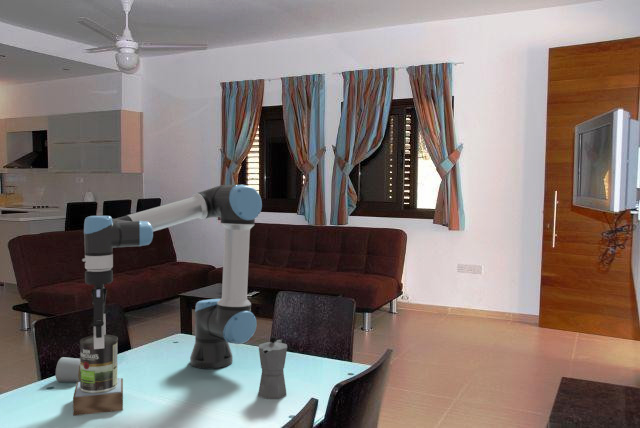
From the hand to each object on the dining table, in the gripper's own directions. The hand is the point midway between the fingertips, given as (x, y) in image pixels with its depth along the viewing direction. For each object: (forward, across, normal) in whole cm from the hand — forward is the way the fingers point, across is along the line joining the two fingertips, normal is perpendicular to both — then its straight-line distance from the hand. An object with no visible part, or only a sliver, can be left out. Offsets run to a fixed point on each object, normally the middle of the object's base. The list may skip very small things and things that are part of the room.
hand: (100, 342), depth 164 cm
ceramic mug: (+19, -25, -9) cm, 33 cm away
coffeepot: (+19, +6, +50) cm, 54 cm away
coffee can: (+13, 0, 0) cm, 13 cm away
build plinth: (+18, 0, 0) cm, 18 cm away
